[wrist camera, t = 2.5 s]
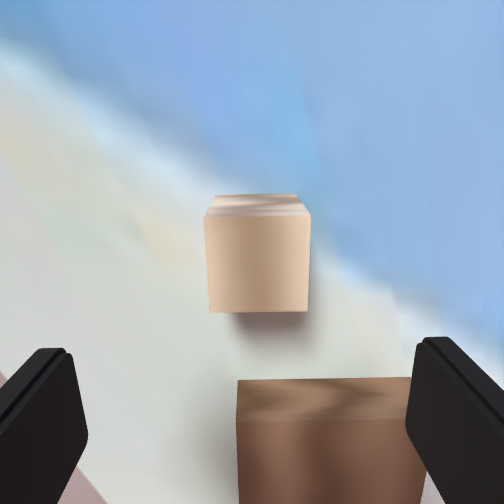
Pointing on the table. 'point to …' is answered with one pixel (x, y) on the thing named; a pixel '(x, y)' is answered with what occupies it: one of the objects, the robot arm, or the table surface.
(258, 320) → the table surface
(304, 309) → the maple block
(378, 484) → the walnut base
